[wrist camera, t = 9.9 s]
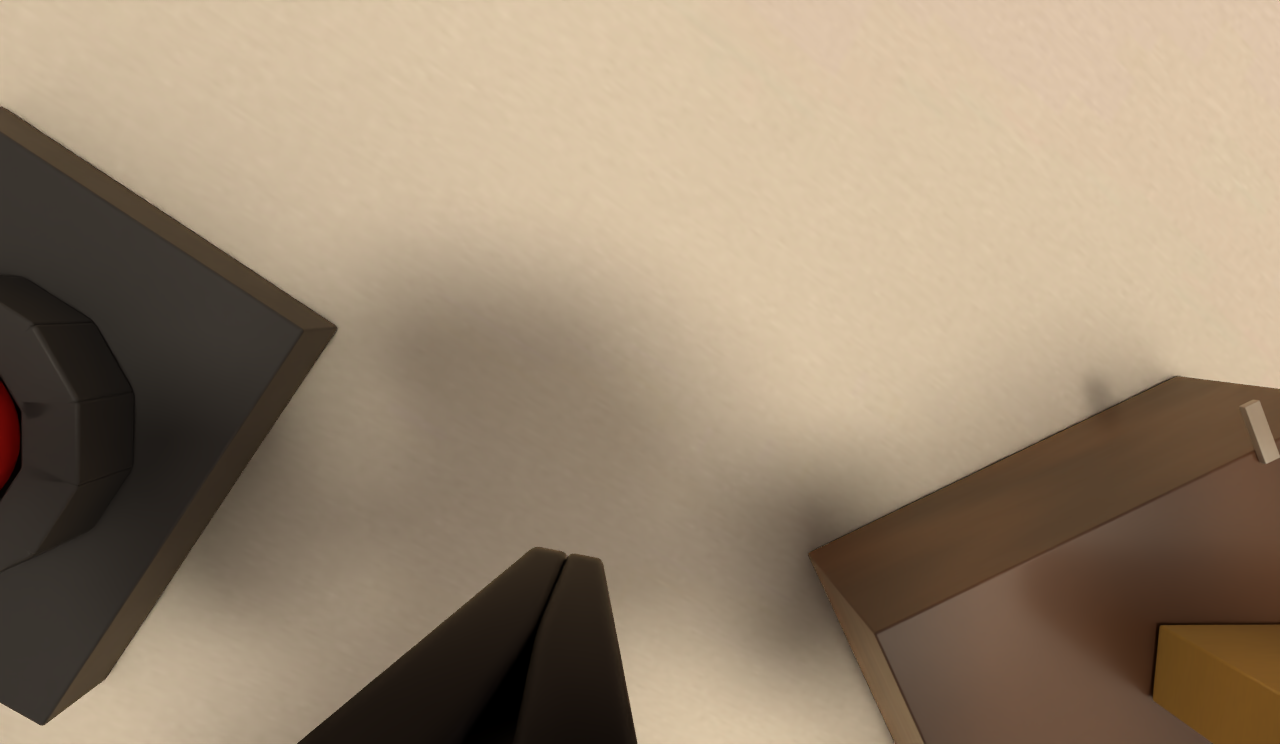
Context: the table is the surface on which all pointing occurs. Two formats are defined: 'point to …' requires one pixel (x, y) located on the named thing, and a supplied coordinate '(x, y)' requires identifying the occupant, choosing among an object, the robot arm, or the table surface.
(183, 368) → the button box
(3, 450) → the button
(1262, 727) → the rectangular block
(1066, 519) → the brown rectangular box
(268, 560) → the table surface
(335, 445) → the table surface
